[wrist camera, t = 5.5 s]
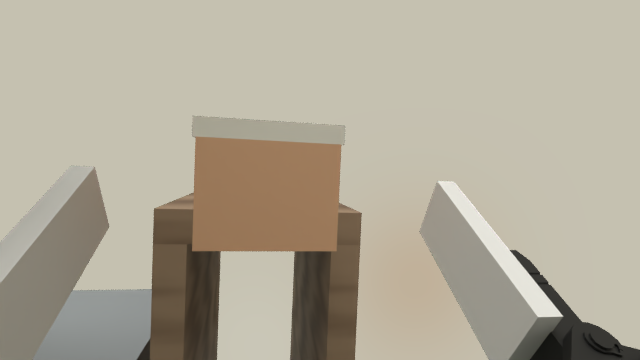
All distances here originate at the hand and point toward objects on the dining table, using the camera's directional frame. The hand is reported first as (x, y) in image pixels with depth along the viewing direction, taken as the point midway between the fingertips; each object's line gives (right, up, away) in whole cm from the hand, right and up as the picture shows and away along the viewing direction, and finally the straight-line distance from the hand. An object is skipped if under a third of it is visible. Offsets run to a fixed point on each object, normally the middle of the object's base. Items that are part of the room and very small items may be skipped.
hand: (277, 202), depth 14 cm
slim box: (-2, -1, +10) cm, 10 cm away
